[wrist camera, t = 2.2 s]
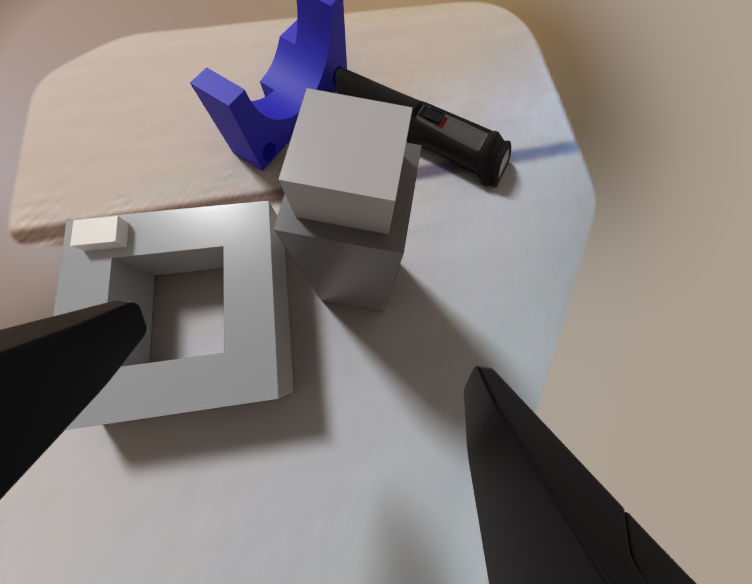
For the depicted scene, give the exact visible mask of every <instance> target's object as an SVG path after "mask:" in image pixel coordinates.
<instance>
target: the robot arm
mask: <svg viewBox="0 0 752 584" xmlns="http://www.w3.org/2000/svg"><path fill="white" fill-rule="evenodd" d="M146 332H147V325H146V322H145V319H144V316H143V313H142V310H141V307H140V306H139V304H138V303H136V302H132V301H127V300H114V301H111V302H107V303H103V304H99V305H95V306H91V307H87V308H83V309H80V310H76V311H72V312H68V313H64V314H60V315H56V316H52V317H49V318H45V319H41V320H37V321H33V322H29V323H25V324H21V325H17V326H14V327H10V328H6V329H2V330H0V500H1V498H2V497H3V496H4V495H5V494H6V493H7V492H8V491H9V490H10V489H11V488H12V487H13V485H14V484H15V483H16V482H17V481H18V480H19V479H20V478H21V477H22V476H23V475H24V474H25V473H26V471H27V470H28V469H29V468H30V467H31V466H32V465H33V464H34V463H35V462H36V461H37V460H38V459H39V457H40V456H41V455H42V454H43V453H44V452H45V451H46V450H47V449H48V448H49V447H50V446H51V444H52V443H53V442H54V441H55V440H56V439H57V438H58V437H59V436H60V435H61V434H62V433H63V432H64V430H65V429H66V428H67V427H68V426H69V425H70V424H71V423H72V422H73V421H74V420H75V419H76V418H77V416H78V415H79V414H80V413H81V412H82V411H83V410H84V409H85V408H86V407H87V406H88V405H89V403H90V402H91V401H92V400H93V399H94V398H95V397H96V396H97V395H98V394H99V393H100V392H101V390H102V389H103V388H104V387H105V386H106V385H107V383H108V382H109V381H110V380H111V379H112V377H113V376H114V375H115V373H116V372H117V371H118V370H119V368H120V367H121V366H122V364H123V363H124V362H125V361H126V359H127V358H128V357H129V355H130V354H131V353H132V352H133V350H134V349H135V348H136V346H137V345H138V344H139V342H140V341H141V340H142V339H143V337H144V336H145V334H146ZM464 403H465V420H466V437H467V451H468V459H469V465H470V471H471V477H472V483H473V489H474V495H475V501H476V507H477V513H478V519H479V525H480V531H481V537H482V543H483V549H484V555H485V561H486V567H487V573H488V579H489V584H696V583H695V582H694V581H693V580H692V579H691V578H690V577H689V576H688V575H687V574H686V573H685V572H684V570H682V568H681V567H680V566H679V565H678V564H677V563H676V562H675V561H674V560H673V559H672V558H671V557H670V556H669V555H668V554H667V553H666V552H665V551H664V550H663V549H662V548H661V547H660V546H659V545H658V544H657V543H656V542H655V540H654V539H653V538H652V537H651V536H650V535H649V534H648V533H647V532H646V531H645V530H644V529H643V528H642V527H641V526H640V525H639V524H638V523H637V521H636V520H635V519H634V518H633V517H632V516H631V515H630V514H629V513H627V512H625V511H624V509H623V507H622V506H621V505H620V504H619V502H618V501H617V500H616V499H615V498H614V497H613V496H612V495H611V494H610V493H609V492H608V491H607V490H606V489H605V488H604V487H603V485H602V484H600V482H599V481H598V480H597V479H596V478H595V477H594V476H593V475H592V474H591V473H590V472H589V471H588V470H587V469H586V467H585V466H584V465H583V464H582V463H581V462H580V461H579V460H578V459H577V458H576V457H575V456H574V455H573V454H572V453H571V452H570V450H569V449H568V448H567V447H566V446H565V445H564V444H563V443H562V442H561V441H560V440H559V439H558V438H557V437H556V436H555V435H554V433H553V432H552V431H551V430H550V429H549V428H548V427H547V426H546V425H545V424H544V423H543V422H542V421H541V420H540V418H539V417H538V416H537V415H536V414H535V413H534V412H533V411H532V410H531V409H530V408H529V407H528V406H527V405H526V404H525V403H524V401H523V400H522V399H521V398H520V397H519V396H518V395H517V394H516V393H515V392H514V391H513V390H512V389H511V388H510V387H509V386H508V384H507V383H506V382H505V381H504V380H503V379H502V378H501V377H500V376H499V375H498V374H497V373H496V372H495V371H494V370H493V369H492V368H489V367H483V366H476V367H475V368H474V369H473V371H472V373H471V375H470V377H469V379H468V382H467V384H466V386H465V390H464Z"/></svg>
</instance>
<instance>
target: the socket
mask: <svg viewBox="0 0 752 584" xmlns="http://www.w3.org/2000/svg"><path fill="white" fill-rule="evenodd" d="M277 217H278V216H277V214H276V213H275V211H274V209H273V208H272V206H271V204H270V202H269V201H261V202H251V203H240V204H230V205H219V206H208V207H198V208H187V209H177V210H166V211H156V212H145V213H134V214H124V215H113V216H103V217H92V218H82V219H71V220H67V223H66V230H65V237H64V243H63V251H62V258H61V265H60V271H59V279H58V286H57V293H56V299H55V306H54V313H53V316H56V315H60V314H64V313H68V312H72V311H76V310H80V309H83V308H87V307H91V306H95V305H99V304H103V303H107V302H111V301H114V300H127V301H132V302H136V303H138V304H139V306H140V307H141V310H142V313H143V316H144V319H145V322H146V325H147V332H146V334H145V336H144V337H143V339H142V340H141V341H140V342H139V344H138V345H137V346H136V348H135V349H134V350H133V352H132V353H131V354H130V355H129V357H128V358H127V359H126V361H125V362H124V363H123V364H122V366H121V367H120V368H119V370H118V371H117V372H116V373H115V375H114V376H113V377H112V379H111V380H110V381H109V382H108V383H107V385H106V386H105V387H104V388H103V389H102V390H101V392H100V393H99V394H98V395H97V396H96V397H95V398H94V399H93V400H92V401H91V402H90V403H89V405H88V406H87V407H86V408H85V409H84V410H83V411H82V412H81V413H80V414H79V415H78V416H77V418H76V419H75V420H74V421H73V422H72V423H71V424H70V425H69V426H68V427H67V428H66V429H65V430H69V429H76V428H83V427H89V426H96V425H103V424H110V423H117V422H123V421H130V420H137V419H144V418H151V417H157V416H164V415H171V414H178V413H185V412H191V411H198V410H205V409H212V408H219V407H226V406H232V405H239V404H246V403H253V402H260V401H266V400H273V399H279V398H281V397H284V396H286V395H288V394H291V393H293V392H294V384H293V368H292V352H291V336H290V320H289V304H288V288H287V272H286V256H285V246H284V244H283V243H282V241H281V240H280V238H279V237H278V235H277V234H276V232H275V231H274V227H275V224H276V220H277ZM220 268H224V353H220V354H212V355H205V356H197V357H190V358H182V359H175V360H167V361H160V362H152V363H150V348H151V331H152V313H153V296H154V278H155V276H157V275H166V274H175V273H184V272H193V271H202V270H211V269H220Z"/></svg>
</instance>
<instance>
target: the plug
mask: <svg viewBox="0 0 752 584" xmlns="http://www.w3.org/2000/svg"><path fill="white" fill-rule="evenodd" d="M411 113H412V107H407V106H401V105H396V104H391V103H385V102H380V101H374V100H369V99H363V98H358V97H352V96H347V95H341V94H336V93H330V92H325V91H319V90H314V89H309V88H307V89H306V92H305V96H304V99H303V102H302V105H301V108H300V112H299V115H298V118H297V121H296V125H295V128H294V131H293V134H292V137H291V141H290V144H289V147H288V150H287V153H286V157H285V160H284V163H283V166H282V170H281V173H280V176H279V179H278V180H279V182H280V184H281V186H282V188H283V191H284V193H285V194H284V197H283V200H282V204H281V207H280V210H279V214H278V217H277V220H276V224H275V227H274V231H275V232H276V234H277V235H278V237H279V238H280V240H281V241H282V243H283V244H284V246H285V247H286V249H287V250H288V252H289V253H290V255H291V256H292V258H293V259H294V261H295V262H296V264H297V265H298V267H299V268H300V270H301V271H302V272H303V274H304V275H305V277H306V278H307V280H308V281H309V283H310V284H311V286H312V287H313V289H314V290H315V292H316V293H317V295H318V296H319V298H320V299H321V301H324V302H330V303H335V304H341V305H346V306H351V307H357V308H362V309H368V310H373V311H378V312H383V309H384V306H385V303H386V301H387V298H388V295H389V292H390V290H391V287H392V284H393V281H394V279H395V276H396V273H397V270H398V268H399V265H400V262H401V259H402V257H403V254H404V248H405V242H406V236H407V230H408V224H409V218H410V212H411V206H412V200H413V194H414V188H415V182H416V176H417V170H418V164H419V158H420V152H421V146H422V145H417V144H411V143H406V140H407V134H408V129H409V123H410V118H411Z"/></svg>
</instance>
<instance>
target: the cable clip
mask: <svg viewBox="0 0 752 584" xmlns="http://www.w3.org/2000/svg"><path fill="white" fill-rule="evenodd" d="M297 10H298V11H297V12H298V20H297V21H295V22H294V23H293V24H292V25H291V26H290V27H289V28H288V29H287V30H286V31H285V32H284V33H283V34H282V35H281V36H280V39H279V43H278V48H277V51H276V54H275V57H274V60H273V62H272V64H271V66H270V68H269V70H268V72H267V73H266V75H265V76H264V77H263V78H262V80H261V81H260V83H261V86H262V89H263V92H264V94H265V96H266V97H264V98H262V99H260V100H256V101H251V100H250V99H249V97H248V95H247V93H246V91H245V90H244V89H243V88H241V87H239V86H238V85H236V84H234V83H232V82H231V81H229V80H227V79H226V78H224V77H222V76H220V75H219V74H217V73H215V72H214V71H212V70H210V69H208V68H205V69H204V70H203V71H202V72H201V73H200V74H199V75H198V76H197V77H196V78H194V79H193V80H192V81H191V82H190V84H191V85H192V87H193V89H194V90H195V92H196V93H197V95H198V97H199V98H200V100H201V102H202V103H203V105H204V106H205V108H206V110H207V111H208V113H209V114H210V116H211V118H212V119H213V121H214V123H215V124H216V126H217V127H218V129H219V131H220V132H221V134H222V136H223V137H224V139H225V140H226V142H227V144H228V145H229V147H230V148H231V150H232V152H233V153H234V154H236V155H238V156H239V157H241V158H243V159H244V160H246V161H247V162H249V163H251V164H252V165H254V166H255V167H257V168H259V169H260V170H262V171H263V170H264V169H265V168H266V167H267V165H268V164H269V163H270V162H271V161H272V160H273V159H274V158H275V157H276V155H277V154H278V153H279V152H280V151H281V150H282V149H283V148H284V147H285V145H286V144H287V143H288V142H289V141H290V140H291V137H292V134H293V131H294V128H295V125H296V121H297V118H298V115H299V112H300V108H301V105H302V102H303V99H304V96H305V92H306V89H307V88H309V89H314V90H319V91H325V92H330V93H333V92H334V91H335V90H336V89H337V87H336V72H337V70H338V69H339V68H344V69H347V59H346V42H345V24H344V7H343V0H297Z"/></svg>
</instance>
